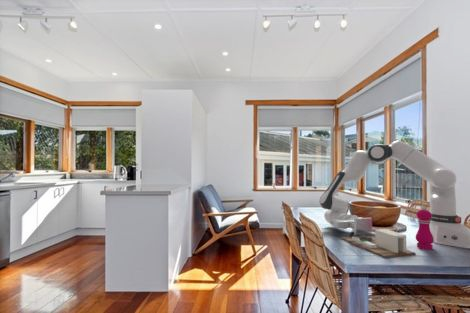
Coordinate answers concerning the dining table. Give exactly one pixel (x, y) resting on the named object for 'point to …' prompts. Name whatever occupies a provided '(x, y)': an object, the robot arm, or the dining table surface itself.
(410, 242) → the dining table surface
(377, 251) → the board
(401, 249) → the block
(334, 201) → the robot arm
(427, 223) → the pepper mill
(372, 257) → the dining table surface
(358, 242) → the gauge scale
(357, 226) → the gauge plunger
